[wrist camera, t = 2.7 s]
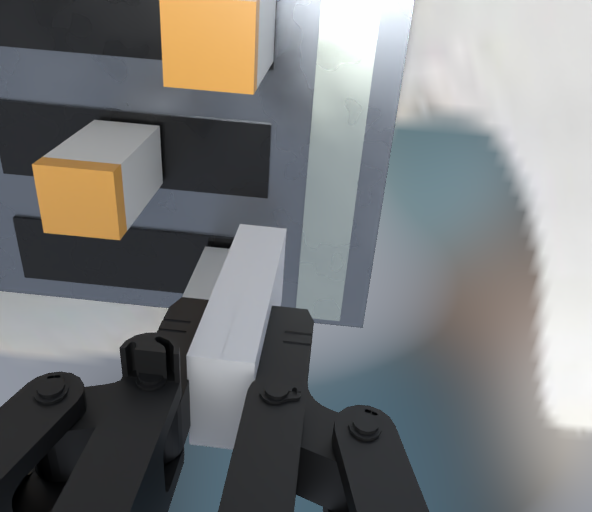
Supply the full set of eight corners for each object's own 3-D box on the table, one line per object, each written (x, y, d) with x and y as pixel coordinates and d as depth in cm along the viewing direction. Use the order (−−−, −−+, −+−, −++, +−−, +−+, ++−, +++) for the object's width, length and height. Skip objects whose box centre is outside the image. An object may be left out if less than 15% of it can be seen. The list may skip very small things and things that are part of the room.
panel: (-47, 267, 33) (-70, 286, 31) (-146, -93, 24) (-187, -96, 22) (361, 308, 32) (362, 331, 30) (417, -49, 23) (423, -48, 21)
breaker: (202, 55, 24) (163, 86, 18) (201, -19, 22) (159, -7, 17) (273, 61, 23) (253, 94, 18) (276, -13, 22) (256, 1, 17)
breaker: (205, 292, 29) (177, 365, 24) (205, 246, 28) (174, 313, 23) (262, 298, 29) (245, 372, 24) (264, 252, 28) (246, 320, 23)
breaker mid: (100, 177, 27) (43, 232, 22) (94, 119, 25) (32, 164, 20) (162, 183, 27) (120, 240, 22) (159, 125, 25) (113, 172, 20)
